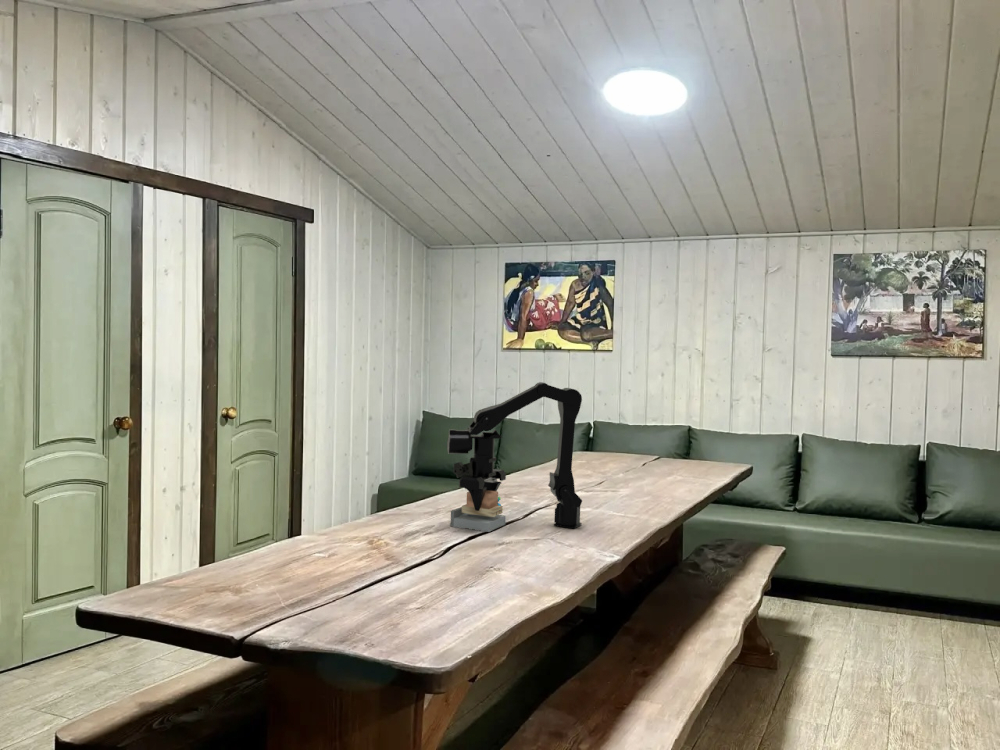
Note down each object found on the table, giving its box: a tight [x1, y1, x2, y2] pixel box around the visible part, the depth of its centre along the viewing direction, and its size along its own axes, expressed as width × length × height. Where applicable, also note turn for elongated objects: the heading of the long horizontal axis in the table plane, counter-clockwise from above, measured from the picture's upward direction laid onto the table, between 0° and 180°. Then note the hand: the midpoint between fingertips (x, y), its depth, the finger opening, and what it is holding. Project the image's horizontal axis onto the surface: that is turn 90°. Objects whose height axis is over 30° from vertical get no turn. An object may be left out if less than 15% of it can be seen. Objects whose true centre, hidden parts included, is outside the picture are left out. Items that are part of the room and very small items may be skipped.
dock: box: [449, 506, 507, 533], centre depth 227 cm, size 12×11×4 cm
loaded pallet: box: [461, 490, 504, 517], centre depth 226 cm, size 10×6×6 cm, turn 65°
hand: (482, 508), depth 226 cm, fingers closed on loaded pallet, 6 cm apart
